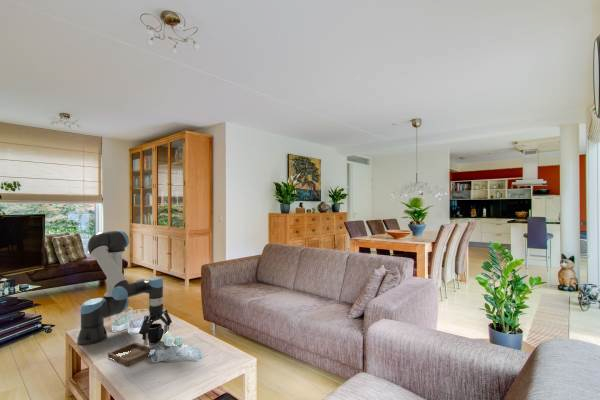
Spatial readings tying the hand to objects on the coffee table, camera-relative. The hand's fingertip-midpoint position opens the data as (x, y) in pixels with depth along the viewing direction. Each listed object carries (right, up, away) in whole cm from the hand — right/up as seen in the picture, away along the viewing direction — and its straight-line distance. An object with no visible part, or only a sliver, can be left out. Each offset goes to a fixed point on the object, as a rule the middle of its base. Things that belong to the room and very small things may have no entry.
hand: (156, 340), depth 185 cm
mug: (0, -1, 0) cm, 1 cm away
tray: (-6, -1, -16) cm, 17 cm away
